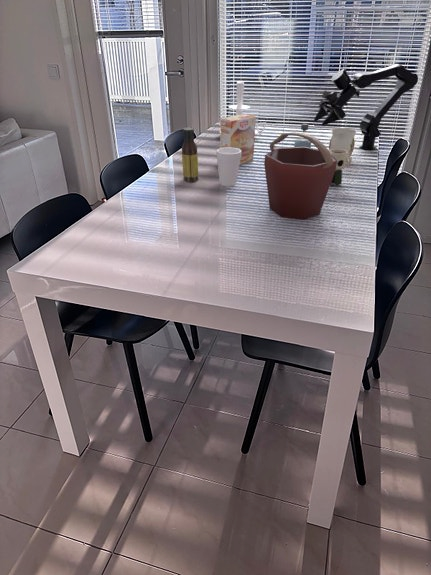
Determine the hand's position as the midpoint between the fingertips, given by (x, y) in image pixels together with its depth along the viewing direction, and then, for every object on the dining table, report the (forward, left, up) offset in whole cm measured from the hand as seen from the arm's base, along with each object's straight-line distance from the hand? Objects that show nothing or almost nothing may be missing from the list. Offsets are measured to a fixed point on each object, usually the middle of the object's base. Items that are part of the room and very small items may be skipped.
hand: (318, 122), depth 204 cm
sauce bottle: (+72, -13, -13) cm, 75 cm away
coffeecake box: (+41, -15, -13) cm, 46 cm away
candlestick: (+5, -42, -13) cm, 44 cm away
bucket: (+68, +35, -13) cm, 78 cm away
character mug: (+36, +31, -13) cm, 50 cm away
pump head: (+5, -4, -4) cm, 8 cm away
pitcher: (+5, +16, -13) cm, 21 cm away
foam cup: (+65, +1, -13) cm, 67 cm away
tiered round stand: (+5, -4, -13) cm, 15 cm away
